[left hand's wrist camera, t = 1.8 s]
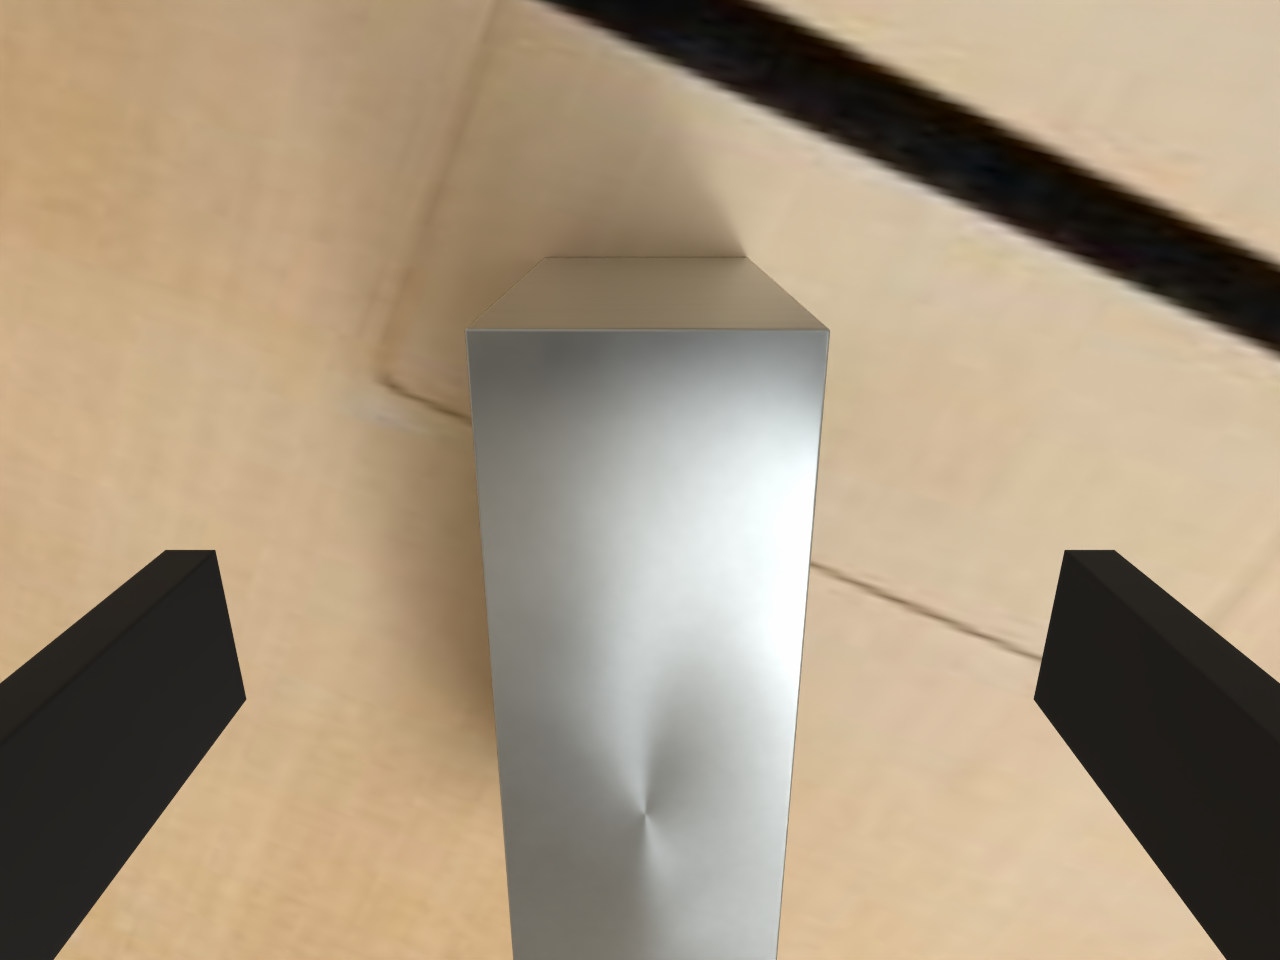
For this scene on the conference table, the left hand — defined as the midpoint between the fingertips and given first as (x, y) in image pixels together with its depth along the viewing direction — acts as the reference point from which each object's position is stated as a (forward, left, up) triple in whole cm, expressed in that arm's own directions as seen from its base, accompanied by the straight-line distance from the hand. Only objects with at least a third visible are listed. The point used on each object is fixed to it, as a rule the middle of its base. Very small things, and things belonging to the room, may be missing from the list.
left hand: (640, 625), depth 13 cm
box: (+3, +6, -16) cm, 18 cm away
